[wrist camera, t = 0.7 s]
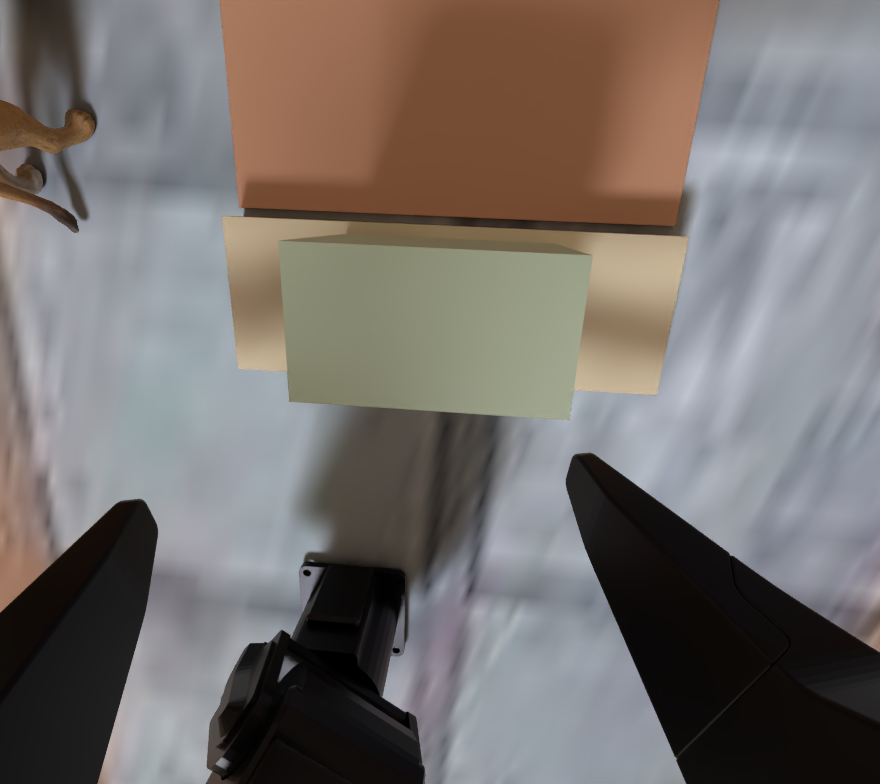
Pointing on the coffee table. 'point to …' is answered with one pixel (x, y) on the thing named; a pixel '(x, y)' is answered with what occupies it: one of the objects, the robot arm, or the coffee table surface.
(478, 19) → the rubber mat
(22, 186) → the lion figurine
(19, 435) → the coffee table surface
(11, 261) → the coffee table surface
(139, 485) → the coffee table surface
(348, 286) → the green block
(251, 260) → the birch board
